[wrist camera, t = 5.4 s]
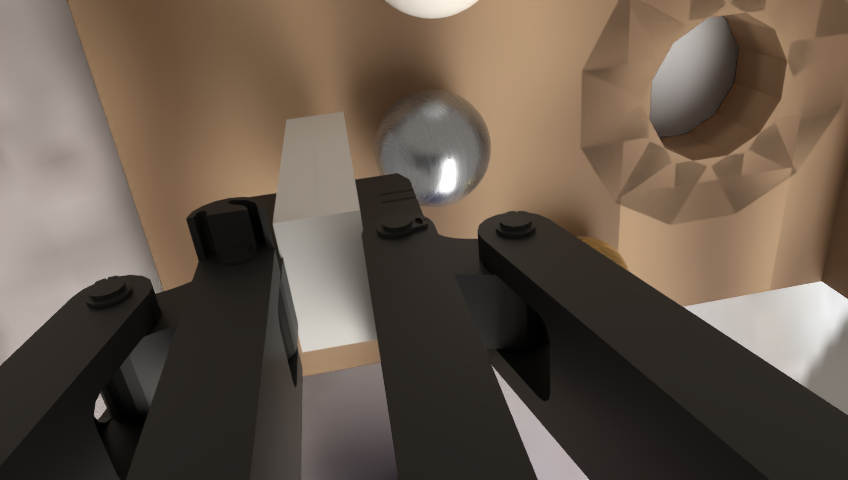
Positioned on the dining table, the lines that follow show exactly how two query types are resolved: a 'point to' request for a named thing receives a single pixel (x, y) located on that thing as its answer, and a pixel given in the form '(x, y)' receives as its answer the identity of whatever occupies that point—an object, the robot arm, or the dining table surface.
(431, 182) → the steel ball
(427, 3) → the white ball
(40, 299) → the dining table surface
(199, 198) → the deck
